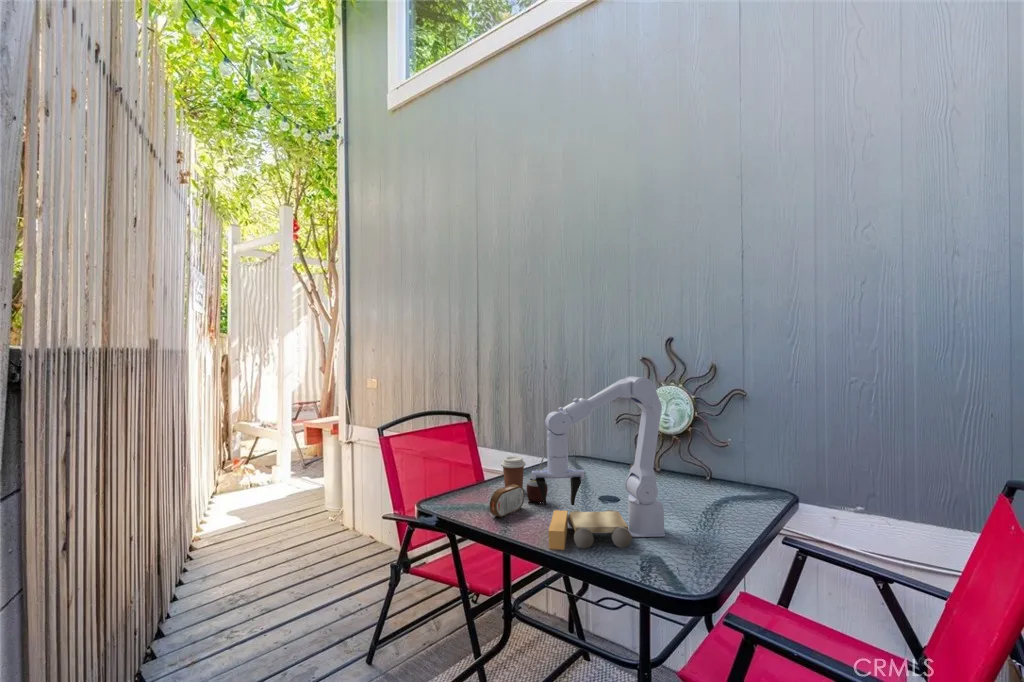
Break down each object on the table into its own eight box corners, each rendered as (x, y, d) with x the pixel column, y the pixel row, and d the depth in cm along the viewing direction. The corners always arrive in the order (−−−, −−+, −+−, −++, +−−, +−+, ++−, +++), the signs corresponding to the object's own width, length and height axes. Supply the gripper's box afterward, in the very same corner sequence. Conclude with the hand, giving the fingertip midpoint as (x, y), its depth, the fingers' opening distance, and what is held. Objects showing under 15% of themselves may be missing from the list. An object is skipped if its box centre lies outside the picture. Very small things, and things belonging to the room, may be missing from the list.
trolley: (618, 526, 143) (618, 509, 143) (631, 547, 128) (631, 528, 128) (567, 527, 143) (567, 510, 143) (574, 548, 128) (574, 529, 128)
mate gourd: (529, 507, 162) (529, 461, 162) (524, 500, 169) (523, 456, 170) (551, 505, 163) (550, 460, 163) (545, 498, 171) (544, 455, 171)
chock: (567, 527, 143) (567, 510, 143) (564, 550, 127) (563, 531, 128) (554, 527, 144) (553, 510, 144) (549, 549, 128) (548, 530, 128)
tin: (519, 506, 163) (518, 480, 163) (526, 508, 161) (526, 482, 161) (488, 519, 151) (488, 491, 151) (496, 521, 149) (496, 493, 149)
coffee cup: (499, 494, 176) (499, 461, 176) (503, 487, 185) (502, 455, 185) (524, 494, 175) (524, 461, 175) (527, 487, 184) (526, 455, 184)
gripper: (581, 451, 140) (582, 499, 139) (530, 452, 139) (531, 500, 139) (585, 457, 133) (586, 507, 132) (532, 458, 132) (533, 508, 132)
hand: (558, 504), depth 135 cm, fingers open, 7 cm apart
